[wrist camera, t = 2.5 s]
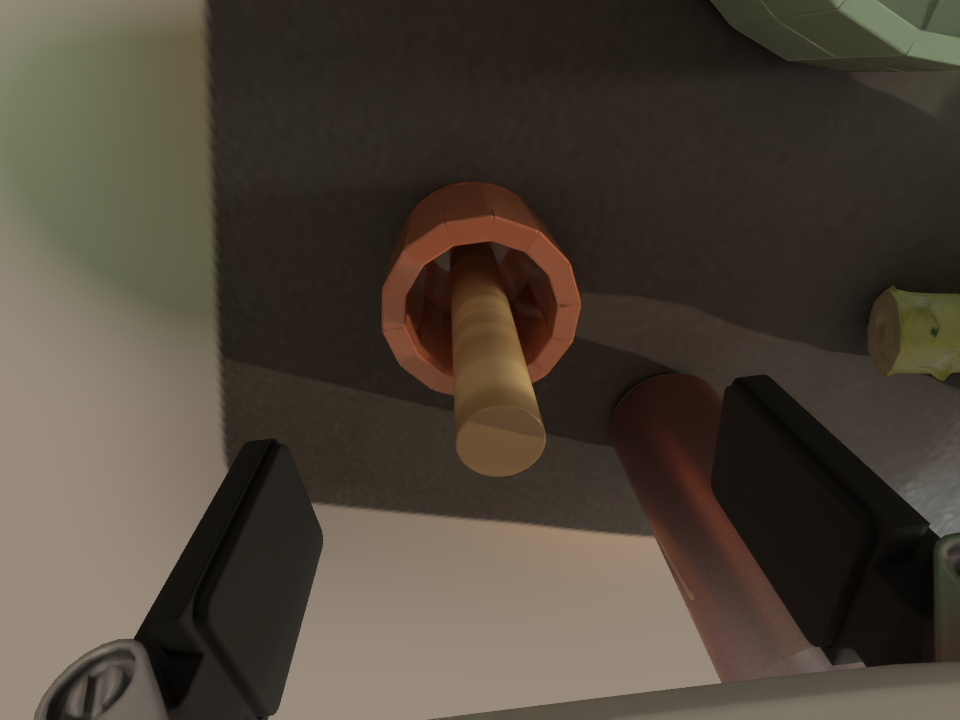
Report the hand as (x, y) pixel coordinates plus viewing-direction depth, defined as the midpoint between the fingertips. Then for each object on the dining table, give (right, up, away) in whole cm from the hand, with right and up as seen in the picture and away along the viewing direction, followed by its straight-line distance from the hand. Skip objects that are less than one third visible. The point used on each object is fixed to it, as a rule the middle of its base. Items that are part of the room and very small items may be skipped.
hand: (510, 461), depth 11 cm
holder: (-1, +7, +11) cm, 13 cm away
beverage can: (+9, -1, +16) cm, 19 cm away
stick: (-1, +6, +11) cm, 12 cm away
